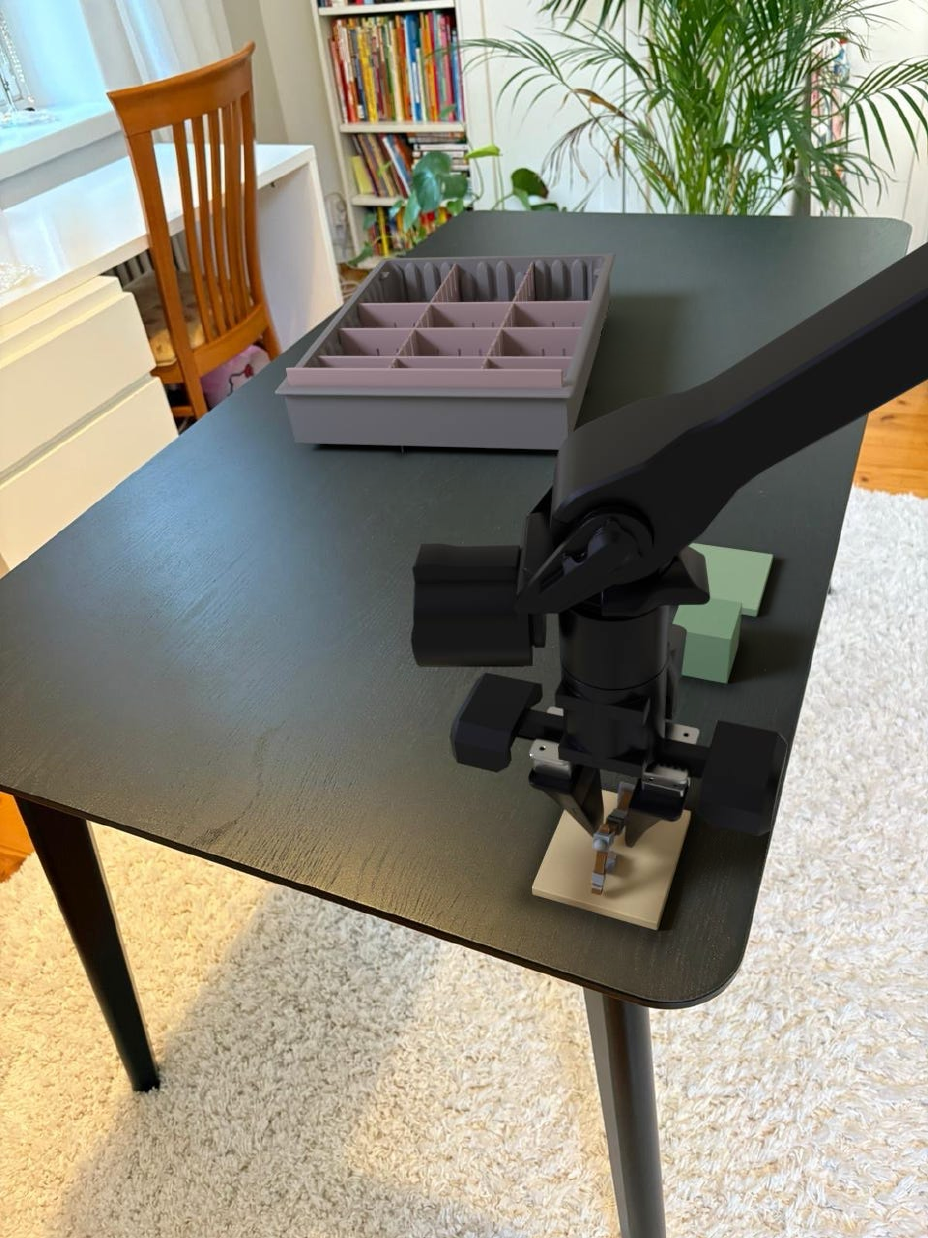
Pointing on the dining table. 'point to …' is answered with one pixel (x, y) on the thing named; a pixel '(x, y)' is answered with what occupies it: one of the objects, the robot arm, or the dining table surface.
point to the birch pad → (634, 880)
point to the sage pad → (736, 575)
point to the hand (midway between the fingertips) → (614, 837)
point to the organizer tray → (455, 354)
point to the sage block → (710, 638)
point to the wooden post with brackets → (610, 838)
